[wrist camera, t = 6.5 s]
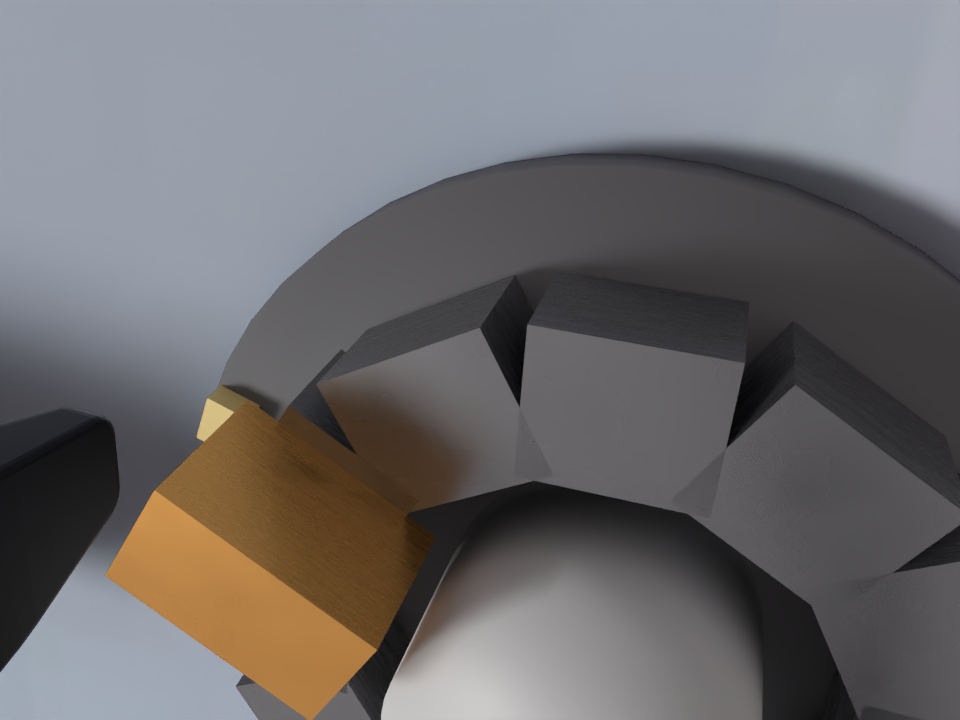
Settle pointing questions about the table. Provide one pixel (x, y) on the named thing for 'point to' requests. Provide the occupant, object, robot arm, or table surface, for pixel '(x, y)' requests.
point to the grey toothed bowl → (563, 462)
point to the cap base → (640, 250)
